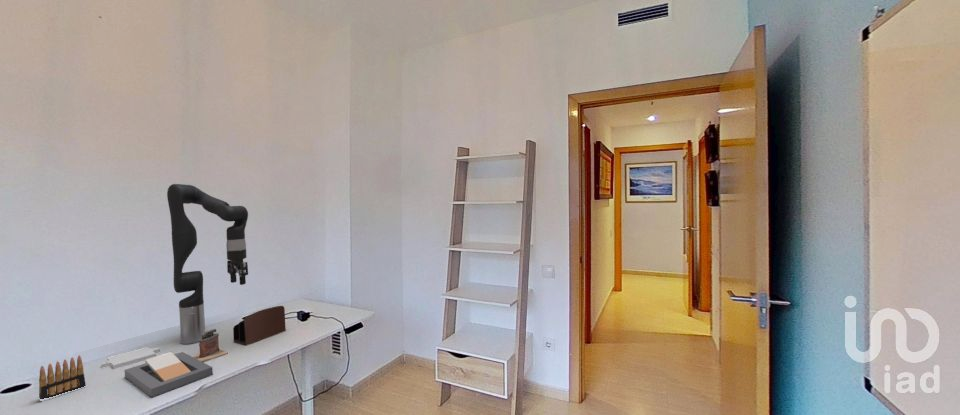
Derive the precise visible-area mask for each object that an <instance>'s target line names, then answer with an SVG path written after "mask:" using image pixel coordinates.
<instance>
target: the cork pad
mask: <svg viewBox="0 0 960 415" xmlns="http://www.w3.org/2000/svg"><path fill="white" fill-rule="evenodd" d="M199 355H200V353H197V354H194V355H190V356H191V357H193V358H195V359H197V360H199V361H201V362H203V363H205V361H206V362H208V361H210V360H213V359H214V360H215V359H217V358H220V357H223V356H227V355H228V352H227V351H226V350H224V349H223V350H222V349H221V348H219V351H218V352H216V353H214V354H212V355H209V356H207V357H204V358H199Z"/></svg>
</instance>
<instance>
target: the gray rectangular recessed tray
mask: <svg viewBox="0 0 960 415" xmlns="http://www.w3.org/2000/svg"><path fill="white" fill-rule="evenodd" d="M173 354H174V353H173ZM174 355H175V356H176V357H177V358H178V359H179V360H180V361H181V362H182V363H183V364H184V365H185V366H186V367H187V368H188V369H189V370H190V371H191V372H189V373H186V374H183V375H180V376H177V377H174V378H172V379H169V380H166V381H162V380H161V379H160V378H159V377H158V376H157V375H156V374H155V372H154V371H153V370H152V369H151V368H150V367H149V366H148V365H147V364H146V362H144V363H142V364H139V365H136V366H132V367H130V368H126V369H124V370H123V371H124V378H125V379H126V380H127V381H129V382H130V383H132V384H133V385H134V386H135V387H137V388H138V389H139V390H141V391H142V392H143V393H144V394H146V395H147V396H149V397H150V398H155V397H157V396H160V395H163V394H165V393H168V392H171V391H173V390H177V389H179V388H181V387H184V386H187V385H189V384H192V383H194V382H197V381H200V380H203V379H205V378H207V377H211V376H213V375H214V374H213V372H214V371H213V366H211V365H209V364H207V363H205V362H201V361H199V360H197V359H195V358H193V357H191V356H192V355H189V354H187V353H185V352H183V351H180V352H178V353H175V354H174Z"/></svg>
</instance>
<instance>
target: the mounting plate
mask: <svg viewBox="0 0 960 415" xmlns="http://www.w3.org/2000/svg"><path fill="white" fill-rule="evenodd" d="M160 352H161V351H160V347H154V348H150V347H149V346H145V347H142V348H138V349H135V350H130V351H127V352H122V353H119V354H115V355H112V356H109V357H106V358H107V360H106V361H102V362H101V363H100V364H101V368H102V367H105V368H108V366H109V367H111V368H112V367H113V368H112V369H113V370H115V369H119V368H123V367H125V366H129V365H133V364H136V363H140V362H143V361H144V362H145V360H146V359H149V358H152V357H156V356H157V354H159V353H160Z"/></svg>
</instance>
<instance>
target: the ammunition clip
mask: <svg viewBox="0 0 960 415" xmlns="http://www.w3.org/2000/svg"><path fill="white" fill-rule="evenodd" d="M76 362H77V363H76ZM55 363H56V364H55V367H53V365H52V364H51V363H49V364H48V365H47V366H48V367H47V374H46V369H45V367H44V366H43V365H41V366H40V369H39V379H38V381H39V382H38V383H39V386H38V388H39V391H38V392H39V394H38V395H39V396H38V398H40V399H44V398H49V397H53V396H56V395H59V394H62V393H65V392H68V391H72V390H75V389H78V388H81V387H84V386H87V384H86V379H85V378H86V377H85V372H84V371H85V370H84V365H83V359H82V357H81V355H78V356H77V359H76V361H75V359H74V357H71V358H70V361H69V365H68V361H67V359H66V358H65V359H63V363H62V369H61V364H60V362H59V361H56V362H55ZM53 368H55V371H54V369H53ZM84 388H85V387H84ZM81 389H82V388H81Z"/></svg>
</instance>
